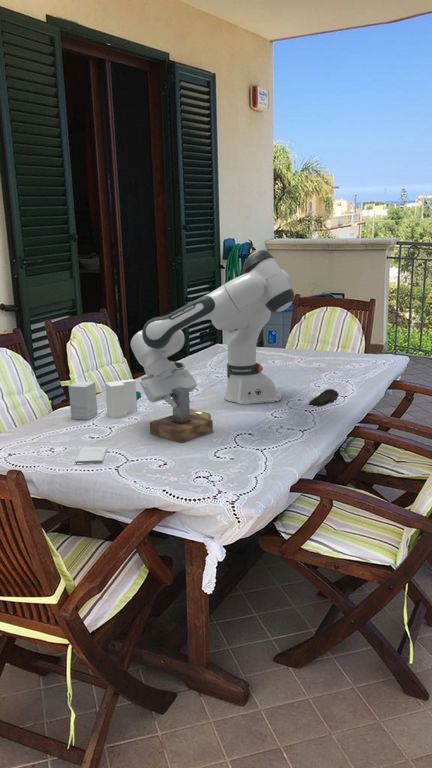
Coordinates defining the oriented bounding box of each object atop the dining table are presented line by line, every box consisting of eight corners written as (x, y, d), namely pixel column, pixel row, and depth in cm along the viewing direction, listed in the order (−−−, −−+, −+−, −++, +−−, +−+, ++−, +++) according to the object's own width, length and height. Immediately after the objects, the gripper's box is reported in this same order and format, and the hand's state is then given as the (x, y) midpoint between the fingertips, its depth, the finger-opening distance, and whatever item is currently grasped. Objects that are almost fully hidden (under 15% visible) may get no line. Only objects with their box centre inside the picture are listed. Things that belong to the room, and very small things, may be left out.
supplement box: (98, 414, 244) (96, 381, 241) (88, 420, 238) (85, 386, 235) (81, 413, 247) (78, 380, 244) (70, 419, 240) (67, 385, 237)
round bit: (181, 416, 235) (186, 406, 236) (188, 420, 238) (192, 410, 239) (201, 421, 228) (206, 411, 229) (208, 426, 231) (212, 415, 232)
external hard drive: (75, 466, 195) (81, 451, 207) (102, 465, 195) (107, 450, 207) (74, 461, 195) (81, 446, 207) (102, 460, 195) (107, 445, 207)
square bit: (181, 420, 223) (180, 386, 220) (190, 423, 221) (188, 388, 218) (173, 423, 221) (171, 389, 218) (181, 425, 218) (180, 390, 215)
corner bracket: (113, 418, 240) (110, 386, 237) (103, 410, 250) (101, 380, 247) (140, 413, 244) (138, 382, 242) (129, 406, 254) (128, 376, 251)
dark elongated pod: (325, 409, 246) (326, 401, 245) (307, 406, 250) (307, 398, 249) (345, 395, 265) (345, 387, 264) (327, 393, 268) (327, 385, 267)
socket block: (182, 423, 232) (181, 412, 231) (212, 431, 222) (212, 420, 221) (150, 433, 221) (149, 422, 220) (180, 442, 211) (180, 431, 210)
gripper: (141, 372, 213) (163, 406, 209) (186, 362, 228) (207, 393, 224) (133, 384, 218) (154, 417, 213) (178, 372, 232) (198, 404, 228)
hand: (182, 405), depth 219 cm, fingers closed on square bit, 4 cm apart
